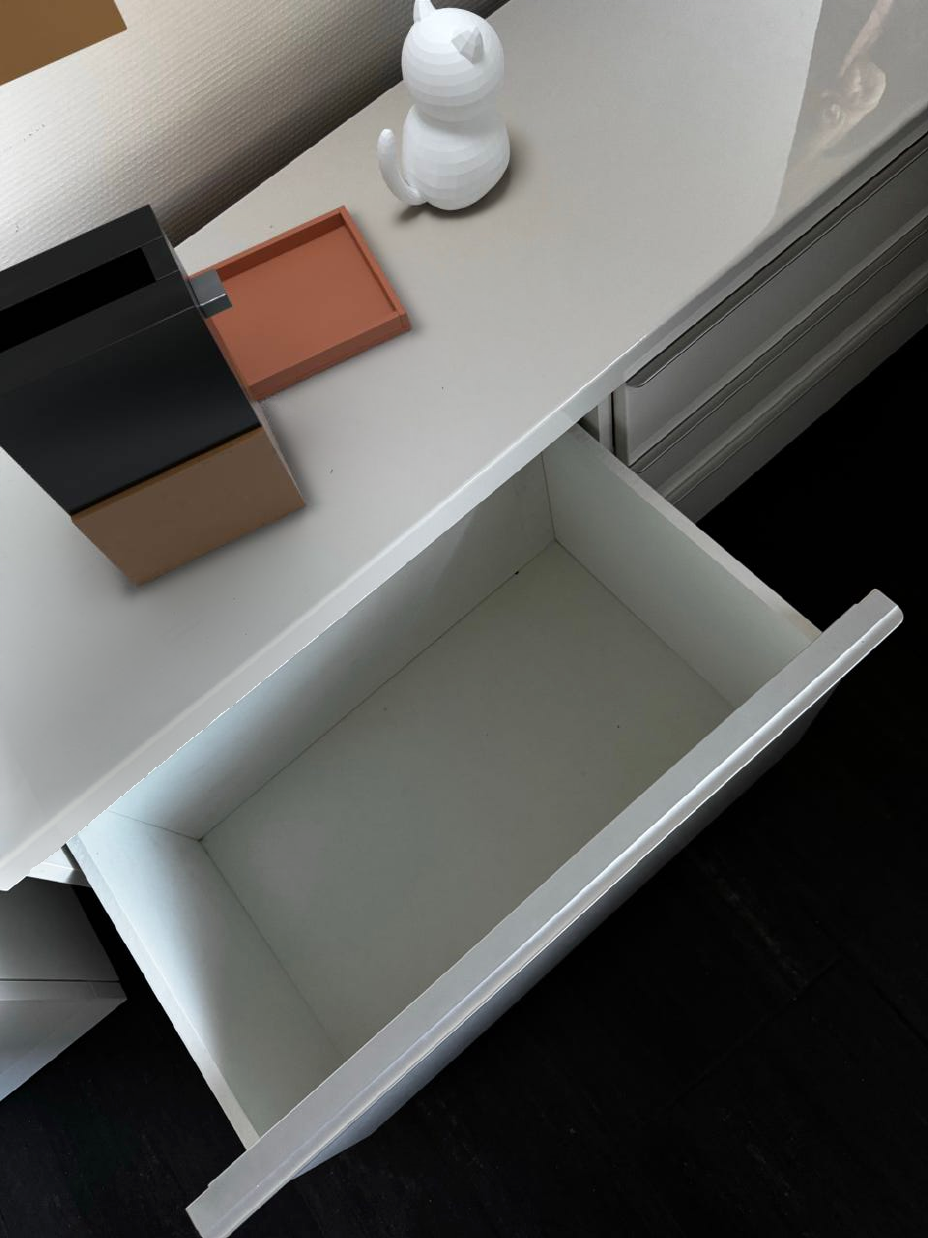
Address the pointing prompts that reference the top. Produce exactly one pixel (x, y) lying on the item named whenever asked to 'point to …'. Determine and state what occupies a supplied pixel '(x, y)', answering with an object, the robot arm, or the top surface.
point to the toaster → (134, 400)
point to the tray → (305, 303)
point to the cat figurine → (448, 111)
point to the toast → (51, 31)
